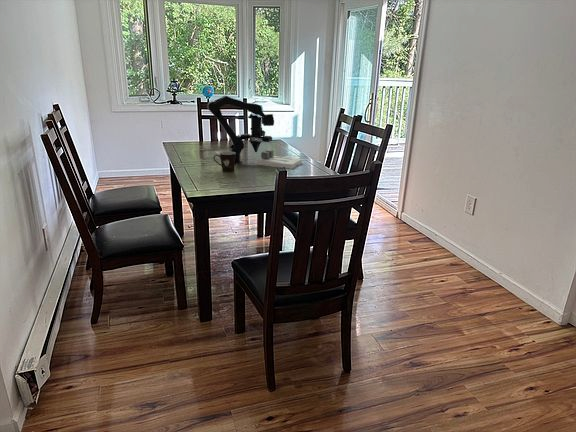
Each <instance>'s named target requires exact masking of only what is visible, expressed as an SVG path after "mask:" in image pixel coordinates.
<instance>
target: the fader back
mask: <svg viewBox="0 0 576 432" xmlns="http://www.w3.org/2000/svg"><path fill="white" fill-rule="evenodd" d="M265 152H269V157H273V156H274V150H271V149H267V150H265Z"/></svg>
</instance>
